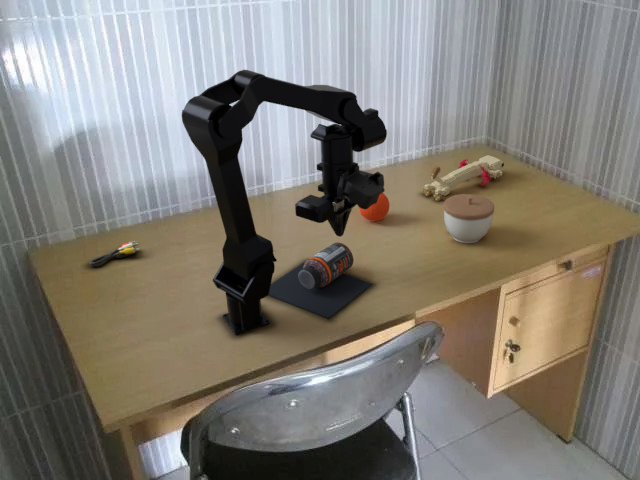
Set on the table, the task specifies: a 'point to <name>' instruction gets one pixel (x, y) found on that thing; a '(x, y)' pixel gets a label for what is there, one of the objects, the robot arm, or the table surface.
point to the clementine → (376, 209)
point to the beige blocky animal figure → (464, 175)
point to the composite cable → (116, 253)
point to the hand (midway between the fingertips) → (339, 235)
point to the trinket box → (468, 217)
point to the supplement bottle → (326, 266)
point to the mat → (318, 293)
